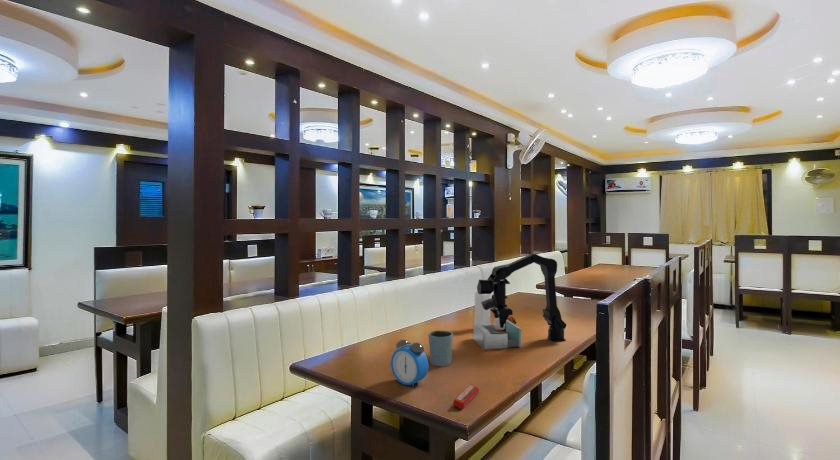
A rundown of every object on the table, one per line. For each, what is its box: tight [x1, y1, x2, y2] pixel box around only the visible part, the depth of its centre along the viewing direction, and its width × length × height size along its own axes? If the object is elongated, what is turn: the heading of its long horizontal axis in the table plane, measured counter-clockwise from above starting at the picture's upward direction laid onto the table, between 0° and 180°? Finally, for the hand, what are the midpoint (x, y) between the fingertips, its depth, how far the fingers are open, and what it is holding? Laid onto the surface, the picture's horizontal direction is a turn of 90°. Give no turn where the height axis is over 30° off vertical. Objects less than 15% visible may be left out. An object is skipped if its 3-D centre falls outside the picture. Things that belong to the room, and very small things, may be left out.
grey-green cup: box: [427, 330, 454, 367], centre depth 167 cm, size 10×10×12 cm
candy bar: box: [452, 384, 480, 410], centre depth 132 cm, size 16×4×3 cm, turn 151°
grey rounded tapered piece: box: [493, 317, 505, 331], centre depth 193 cm, size 5×5×4 cm
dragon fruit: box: [500, 315, 517, 332], centre depth 215 cm, size 8×8×12 cm
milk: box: [474, 290, 491, 325], centre depth 218 cm, size 6×6×22 cm
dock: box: [472, 323, 509, 350], centre depth 192 cm, size 11×17×7 cm, turn 8°
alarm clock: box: [390, 339, 429, 388], centre depth 146 cm, size 13×6×15 cm, turn 53°
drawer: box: [490, 320, 522, 348], centre depth 193 cm, size 11×17×8 cm, turn 8°
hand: (499, 326), depth 193 cm, fingers closed on grey rounded tapered piece, 5 cm apart
